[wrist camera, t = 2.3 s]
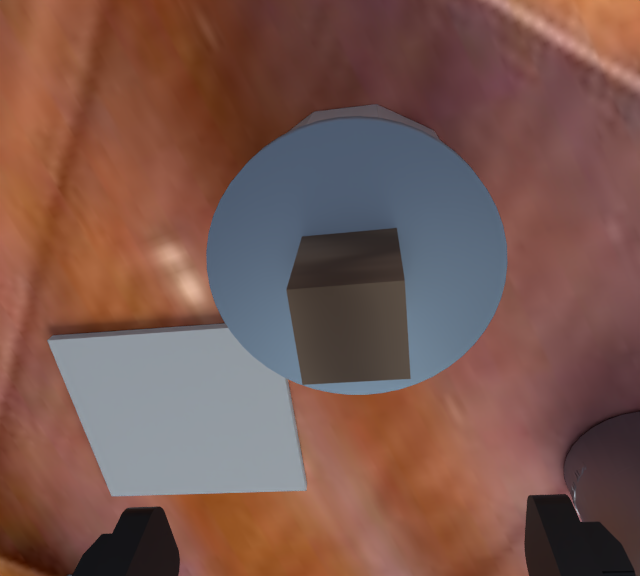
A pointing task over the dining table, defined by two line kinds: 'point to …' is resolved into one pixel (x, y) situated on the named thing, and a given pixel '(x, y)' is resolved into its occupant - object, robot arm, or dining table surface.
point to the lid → (357, 256)
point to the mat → (181, 411)
